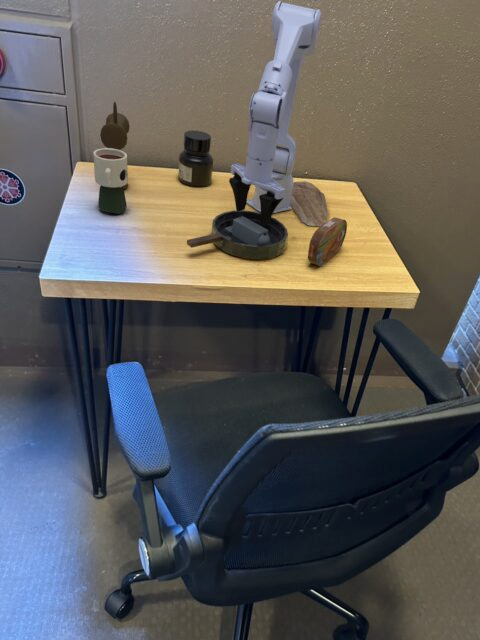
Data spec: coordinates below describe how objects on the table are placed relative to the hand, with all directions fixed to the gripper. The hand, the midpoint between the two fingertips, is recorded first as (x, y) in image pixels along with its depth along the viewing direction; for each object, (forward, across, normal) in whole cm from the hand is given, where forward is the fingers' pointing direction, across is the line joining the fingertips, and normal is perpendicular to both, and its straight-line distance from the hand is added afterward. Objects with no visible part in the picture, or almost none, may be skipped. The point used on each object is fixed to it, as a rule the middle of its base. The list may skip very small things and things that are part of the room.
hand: (252, 216), depth 118 cm
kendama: (+6, -37, -10) cm, 39 cm away
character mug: (+6, -27, -18) cm, 33 cm away
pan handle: (+4, -1, -12) cm, 13 cm away
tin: (+6, +14, +10) cm, 19 cm away
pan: (+6, 0, 0) cm, 6 cm away
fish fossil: (+6, -7, +29) cm, 30 cm away
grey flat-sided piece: (+6, 0, 0) cm, 6 cm away
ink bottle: (+6, -32, +11) cm, 34 cm away
